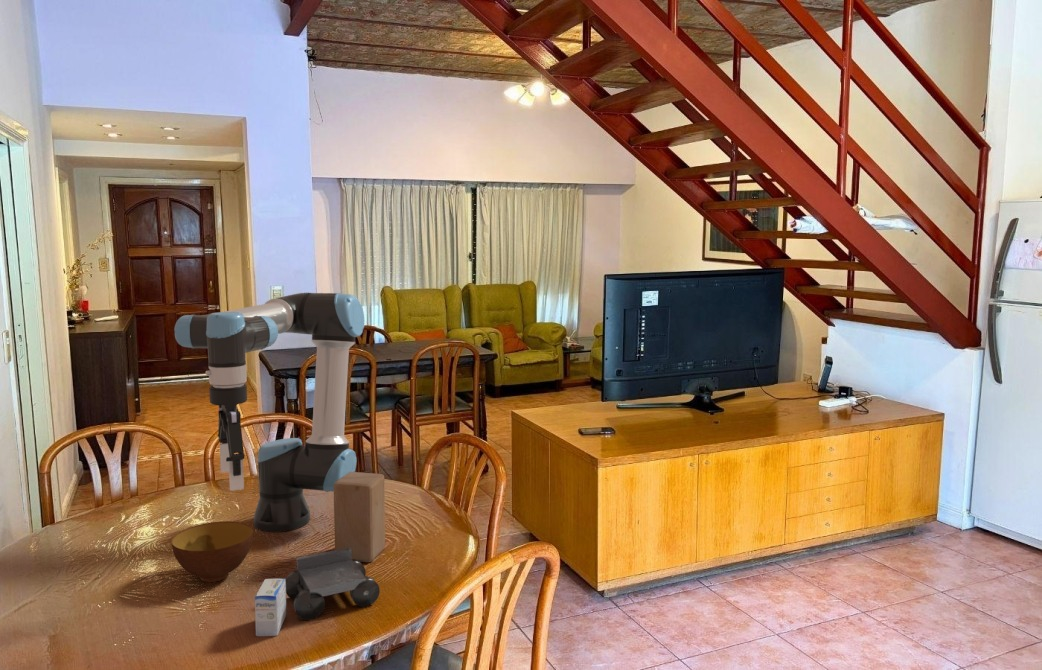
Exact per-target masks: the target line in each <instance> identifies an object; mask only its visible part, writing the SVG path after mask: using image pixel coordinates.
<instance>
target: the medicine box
mask: <svg viewBox="0 0 1042 670" xmlns="http://www.w3.org/2000/svg"><path fill="white" fill-rule="evenodd" d="M254 610H255V611H254V613H255V617H254V618H255V619H254V620H255V636H256V637H276V636H277V637H278V635H279V632H280V630H281V628H282V627H283V623H284V622H285V619H286V617H287V594H286V581H285V578H265V579H264V581H262V583H261V585H260V587H259V589H258V591H257V592H256V594H255V596H254Z"/></svg>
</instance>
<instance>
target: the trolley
mask: <svg viewBox="0 0 1042 670" xmlns="http://www.w3.org/2000/svg"><path fill="white" fill-rule="evenodd" d="M366 572H367V571H366V568H365V566H364V564H363V563H362V562H360V561H358V560H356V559H352V556H351V548H350V547H349V548H344V549H339V550H335V549H334V550H331V551H330V550H329V551H324V552H318V553H314V554H309V555H303V556H299V557H296V570H294V571H291V572H290V573H289V574H288V575H286V577H285V578H284V579H285V581H286V596H287V597H289V599H291V600H293V610H294V611H295V614H296V615H297V616H298V618H300V619H301V620H303V621H311V620H314V619H316V618H318V617H319V616H320V615H321V614H322V612H324V608H325V602H326V601H325V598H324V597H327V596H331V595H335V594H340V593H345V592H349V595H350V597H351V599H352V601H353V602H354V604H355V605H356V606H357V607H360V608H364V607H365V608H366V607H369V606H372V605H373V604H374V603H375V602H376V601H377V600H378V598H379V595H380V592H381V591H380V590H381V589H380V586H379V584H378V583H377V581H376V580H375V578H373V577H371V576H367V575H366V574H367V573H366ZM310 619H311V620H310Z"/></svg>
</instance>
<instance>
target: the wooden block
mask: <svg viewBox="0 0 1042 670" xmlns="http://www.w3.org/2000/svg"><path fill="white" fill-rule="evenodd" d="M385 489H386V488H385V475H384V474H382V473H372V472H371V473H370V472H369V473H368V472H359V471H358V472H357V471H355V472H349V473H347V474H346V475H345V476H343V477H342V478H340V479H339V480H338V481H336V482H335V483H334V492H333V516H334V517H333V520H334V522H333V523H334V525H333V526H334V550H339V549H344V548H349V547H350V548H351V556H352V559H356V560H358V561H360V562H361V563H371V562H373V561H374V560H375V559H376V558H377V557H378V555H380V554H381V552H382V551H384V550H385V547H386V509H385V508H386V506H385V503H386V502H385V501H386V500H385V493H386V491H385Z"/></svg>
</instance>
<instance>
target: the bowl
mask: <svg viewBox="0 0 1042 670" xmlns="http://www.w3.org/2000/svg"><path fill="white" fill-rule="evenodd" d="M253 536H254V530H253V527H252V526H250V525H249V524H247V523H245V522H244V523H243V522H240V521H230V520H229V521H228V520H227V521H226V520H223V521H212V522H205V523H201V524H196V525H193V526H191V527H187V528H185V529H183V530H181V531H179V532H177V533H176V534H174V536H173V537H172V538H171V550H172V552H173V555H174V557H175V559H176V562H178V564H179V566H181V568H182V569H184V570H185V571H186V573H188V574H190V575H192V576H193V577H194V576H195V577H197V578H200V580H201V581H203V582H206V583H207V582H208V583H209V582H210V583H211V582H213V583H214V582H220V581H221V580H224V579H226V578H228V576H229V574H230V573H231V572H233V571H235V570H236V569H237V568H238V567H240V565H241V564H242V563H243V561H245V560H244V559H246V557H247V555H248V553H249V551H250V549H251V546H252V543H253V538H254V537H253Z"/></svg>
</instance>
